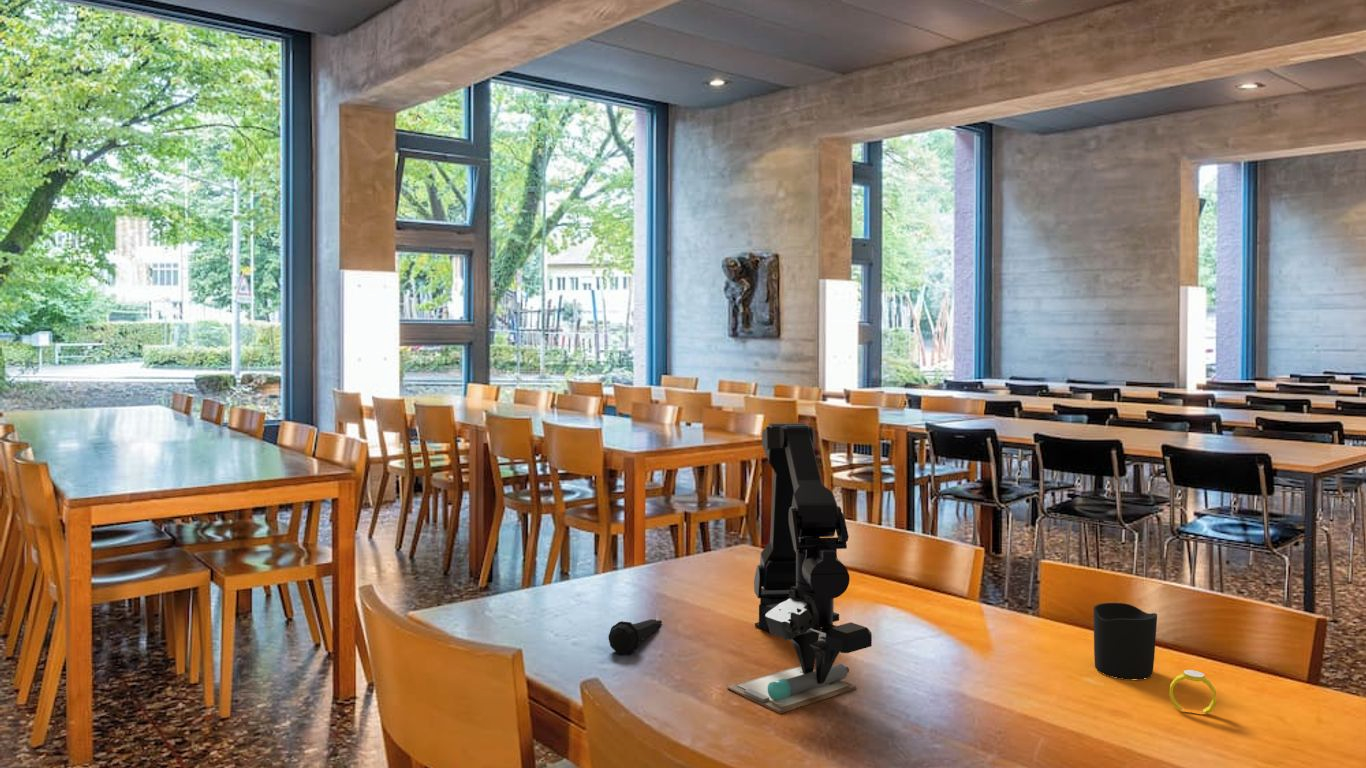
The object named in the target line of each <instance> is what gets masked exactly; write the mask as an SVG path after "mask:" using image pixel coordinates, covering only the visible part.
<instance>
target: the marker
mask: <svg viewBox="0 0 1366 768" xmlns="http://www.w3.org/2000/svg"><path fill="white" fill-rule="evenodd" d="M849 673H850V668H849V667H848V666H846V665H844V664H843V663H837V664H833V665H832V667H831V669H830V671H829V673H828V675H827V677H826V680H825V682H824V683H822V684H818V683H817V676H816V671H813V672H810V673H806V674H803V675H799V676H796V677H793V678H789V679H781V680H778V681H774V682H771V683H769V685H768V694H769V696H770V697H771V698H772V699H773V700H778V699H781V698H784V697H788V696H791V695H794V694H797V693H800V692H804V691H807V690H810V689H813V688H817V687H820V686H823V685H826V684H830V683H833V682H836V681H839V680H842V681H843V680H846V678H848V674H849Z"/></svg>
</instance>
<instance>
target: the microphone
mask: <svg viewBox="0 0 1366 768" xmlns="http://www.w3.org/2000/svg"><path fill="white" fill-rule="evenodd" d="M662 623H663V621H662V620H660V619H652V618H651V619H648V620H644V621H640V622H636V623H632V622H631V621H630V622H629V621H622V620H621V621H619V622H617V623H616V624H614V625H613V626H611V628H610V631H609V633H608V637H607V638H608V642H609V646H610V647H611V649H613V650H614V652H616V653H618V654H623V655H630V654H632V653H633V652H635V651H636V650H637V649H638V648H639V645H640V643H642V642H643V641H644V639H645V638H647V637H648V636H650V635H651V634H653V633H654V632H656V631H657V630H658V629H659V626H660V625H661V624H662Z"/></svg>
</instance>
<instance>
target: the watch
mask: <svg viewBox="0 0 1366 768" xmlns="http://www.w3.org/2000/svg"><path fill="white" fill-rule="evenodd" d="M1182 671H1183V670H1182ZM1205 675H1206V674H1204V673H1203V672H1200V671H1196V670H1193V669H1187V670H1186V669H1185V670H1184V671H1183V672H1182V673H1181V674H1179V675H1177V676H1175V678H1174V679H1173V680H1172V681H1171V682H1170V685H1169V698H1170V701H1171V703H1172V705H1173V707H1175V709H1177V710H1178V709H1180V710H1182V707H1183V706H1182V705H1180V704H1179V703H1178V702H1177V701H1176V699H1175V696H1174V692H1173V691H1174V688H1175V686H1176V685H1177V684H1178V682H1180V681H1183V680H1185V679H1186V680H1189V681H1194V682H1202V683H1204V684H1205V685H1206V686H1208V688H1209V690H1210V691H1211V693H1212V700H1211V702H1209V706H1207V707H1205V708H1204V709H1202V710H1203V712H1204V713H1207V714H1209V713H1210V712H1212V711H1213V709H1214V707H1215V706H1216V703H1217V696H1216V695H1217V694H1216V689H1215V687H1214V686H1213V684H1212V683H1211V681H1210V680H1209V679H1208V678H1206V676H1205Z"/></svg>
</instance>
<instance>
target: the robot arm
mask: <svg viewBox="0 0 1366 768" xmlns="http://www.w3.org/2000/svg"><path fill="white" fill-rule="evenodd" d="M815 439H816V438H815V427H813V426H811V425H807V424H805V423H804V422H783V423H782V422H776V423H775V422H773V423H772V422H770V423H769V425H768V426H765V428H764V429H763V430H762V435H761V443H762V444H761V445H762V449H763V450H764V453H765V455H766V458H767V460H768V463H769V464H770V466H771V468H772V486H771V487H772V488H771V492H772V493H771V506H770V508H771V509H770V510H771V511H770V528H769V529H770V531H769V533H770V534H769V541H768V543H767V544H766V545H765V547H764V548H763V549H762V550H761V552H760V558H759V564H758V565H756V569H755V574H754V577H753V590H754V594H755V596H756V597H757V599H760V601H759V602H760V604H758V622H755V623H754V627H756V628H759V629H762V630H764V631H767V632H769V633H770V635H772V636H778V637H780V638H781V639H783V640H785V641H789V642H790V643H791V644H792V645H793V647H794V649H795V652H796V656H797V659H798V661H799V666H800V665H801V668H802V671H803V674H806V673H810V672H813V670H816V676H817V683H818V684H822V683H824V682H825V680H826V677H827V675H828V673H829V671H830V669H831V667H832V666H833V665H834V663H835V661H836V659H837V657H838V656H839V654H840V653H841V654H851V653H853V652H857V651H859V650H864V649H868V648H871V647H872V646H873V645H872V644H873V643H872V639H873V638H872V636H873V635H872V634H873V633H872V632H871V630H870V629H869V628H868V627H866V626H864V625H860V624H857V623H856V622H855V623H854V622H846V623H842V624H839V625H834V623H836V622H838V621H840V613H836V612H835V611H834V610H835V608H834V606H835V605H834V604H835V601H834V599H836V598H838V597H841V596H842V595H843V594H845V592H846V591H847V589H848V587H849V584H850V578H851V577H850V574H849V570H848V568H847V567H846V566H845V565H844V563H842V561H841V560H840V559H838V556H837V555H838V553H837V552H838V551H837V550H846V549H847V548H848V547H847V545H848V544H847V542H848V540H849V532H848V528H847V523H846V519H845V515H844V513H843V512H842V508H841V506H838V504H837V501H836V500H837V499H836V497H835V495H834V492H833V491H831V490H830V489H829V488H828V487H826V486H824V485H823V481H822V478H821V473H820V469H819V465H818V462H817V457H816V453H815V450H814V449H815V448H816V440H815ZM835 533H836V535H835ZM834 536H837V537H834Z"/></svg>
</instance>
